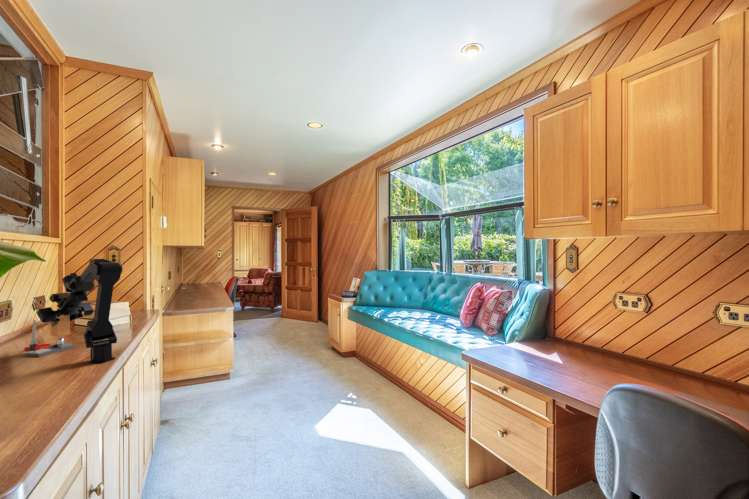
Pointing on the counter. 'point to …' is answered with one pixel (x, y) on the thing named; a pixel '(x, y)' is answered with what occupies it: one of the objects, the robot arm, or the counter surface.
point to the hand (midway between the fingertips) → (58, 324)
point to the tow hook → (33, 341)
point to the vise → (51, 348)
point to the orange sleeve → (61, 326)
